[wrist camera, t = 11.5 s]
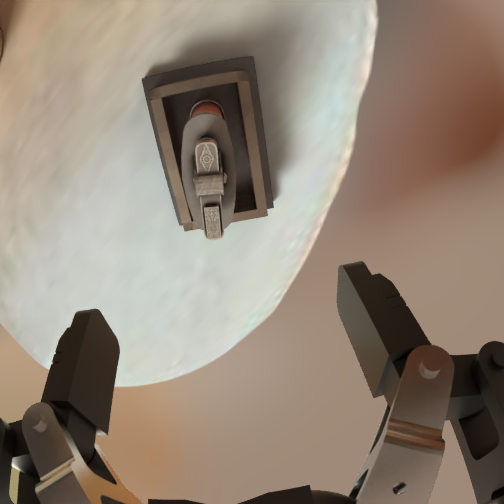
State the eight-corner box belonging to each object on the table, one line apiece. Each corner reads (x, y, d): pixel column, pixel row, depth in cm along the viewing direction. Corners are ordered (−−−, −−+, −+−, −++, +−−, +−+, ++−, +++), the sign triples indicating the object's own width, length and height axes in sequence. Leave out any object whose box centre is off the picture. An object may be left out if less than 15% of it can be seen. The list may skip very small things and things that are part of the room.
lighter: (185, 101, 23) (170, 126, 15) (227, 97, 23) (236, 119, 15) (194, 190, 28) (188, 255, 19) (232, 186, 28) (242, 250, 20)
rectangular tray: (180, 220, 30) (176, 242, 27) (144, 78, 22) (133, 81, 19) (271, 203, 30) (280, 223, 27) (251, 56, 22) (258, 55, 19)
